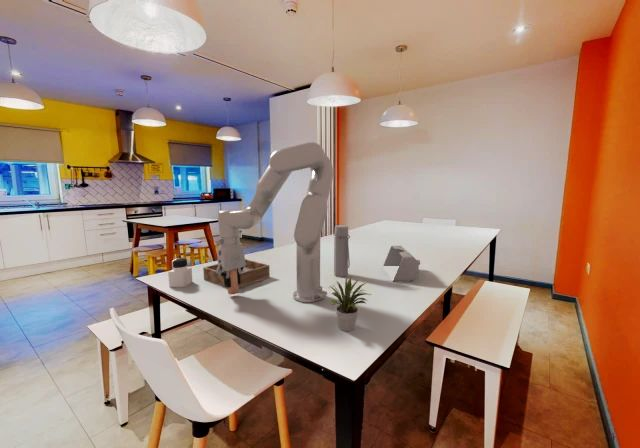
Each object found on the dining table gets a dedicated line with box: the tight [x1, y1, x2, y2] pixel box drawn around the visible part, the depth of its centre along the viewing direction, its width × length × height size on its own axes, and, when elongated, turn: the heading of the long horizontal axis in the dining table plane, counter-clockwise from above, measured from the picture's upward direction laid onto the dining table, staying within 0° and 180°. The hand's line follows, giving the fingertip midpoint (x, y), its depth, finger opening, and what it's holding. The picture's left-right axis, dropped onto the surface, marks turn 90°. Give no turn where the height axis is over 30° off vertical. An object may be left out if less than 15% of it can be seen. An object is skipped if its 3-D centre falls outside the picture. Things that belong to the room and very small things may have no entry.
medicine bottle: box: [167, 257, 193, 288], centre depth 128 cm, size 7×7×12 cm
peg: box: [227, 269, 239, 295], centre depth 115 cm, size 4×4×10 cm
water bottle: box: [333, 224, 351, 278], centre depth 140 cm, size 9×8×25 cm
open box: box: [202, 258, 270, 290], centre depth 137 cm, size 22×22×6 cm
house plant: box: [329, 277, 372, 332], centre depth 88 cm, size 14×14×16 cm
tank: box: [382, 245, 421, 282], centre depth 144 cm, size 25×16×12 cm, turn 178°
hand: (232, 284), depth 115 cm, fingers closed on peg, 4 cm apart
